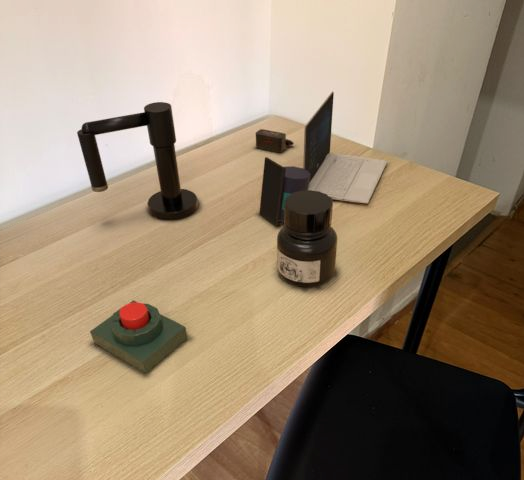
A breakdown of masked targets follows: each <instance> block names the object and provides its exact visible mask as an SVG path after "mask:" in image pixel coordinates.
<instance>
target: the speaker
mask: <svg viewBox="0 0 524 480" xmlns="http://www.w3.org/2000/svg"><path fill="white" fill-rule="evenodd" d="M310 176H311V174H310V173H309V172H308V171H307V170H305V169H303V167H299V166H295V165H294V166H283V165H281V164H279V163H277V162H276V161H274V160H273V159H271V158H269V157H268V156H265V157H264V162H263V172H262V182H261V183H262V184H261V193H260V205H259V213H258V214H259V216H261V217H262V218H263V219H265V220H266V221H268V223H271V225H273V226H275V227H276V228H278V227H279V225H280V222H282V223H284V221H285V220H284V201H285V199H286V198H287V196H289V195H291V194H292V193H295V192H298V191H306V190H308V188H309V182H310Z"/></svg>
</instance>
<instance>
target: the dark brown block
mask: <svg viewBox="0 0 524 480" xmlns="http://www.w3.org/2000/svg"><path fill="white" fill-rule="evenodd" d="M291 146H294V141H292V140H291V139H288V138H287V134H286V133H285V132H279V131H274V130H269V129H264V128H260V129H259V130H257V131H256V132H255V147H256V148H257V149H261V150H266V151H270V152H276V153H282V152H284V150H285V149H286V148H287V147H288V148H290V147H291Z"/></svg>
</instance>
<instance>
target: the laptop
mask: <svg viewBox="0 0 524 480" xmlns="http://www.w3.org/2000/svg"><path fill="white" fill-rule="evenodd" d="M334 93H335V92H334V90H333V91H331V93H330V94H329V95H328V96H327V98H326V99H325V100H324V101H323V103H321V105H320V106H319V108H318V109H317V110H316V111H315V112H314V113H313V115H312V116H311V118H310V119H309V120H308V121H307V123H305V125H304V130H303V131H304V133H303V135H304V136H303V137H304V138H303V165H302V168H303V169H305V170H307V171H308V172H309V173H310V174H311V176H310V182H309V188H308V190H312V191H319V192H322V193H324V194H327V195H328V196H329V197H330V198H332V200H336V201H343V202H351V203H359V204H360V203H361V204H369V202H370V200H371V197H372V195H373V193H374V191H375V189H376V187H377V185H378V183H379V181H380V178H381V177H382V174H383V172H384V171H385V168H386V166H387V163H388V160H386V159H379V158H372V157H364V156H359V155H358V156H357V155H349V154H343V153H334V152H331V142H332V125H333V110H334V97H335V95H334Z"/></svg>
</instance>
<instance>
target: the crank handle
mask: <svg viewBox="0 0 524 480" xmlns="http://www.w3.org/2000/svg"><path fill="white" fill-rule="evenodd" d="M174 122H175V121H174V115H173V108H172V105H171V104H170V103H169V102H164V101H156V102H151V103H147V104H146V105H145V106H143V112H137V113H131V114H125V115H121V116H115V117H109V118H104V119H99V120H98V119H97V120H92V121H87V122H84V123H82V125H81V129H79V130H77V132H76V134H77V138H78V141H79V146H80V149H81V152H82V156H83V160H84V164H85V167H86V171H87V175H88V178H89V182H90V187H91V191H92V192H95V193H102V192H105V191H108V189H109V185H108V181H107V177H106V174H105V170H104V165H103V161H102V158H101V154H100V149H99V146H98V142H97V138H96V137H97V136H98V135H103V134H110V133H114V132H119V131H124V130H125V131H126V130H131V129H135V128H141V127H146V128H147V134H148V139H149V144H150V145H151V146H152V147H153V146H154V147H168V146H171V145H173V144H174V145H175V144H176V142H177V136H176V130H175V123H174Z"/></svg>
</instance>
